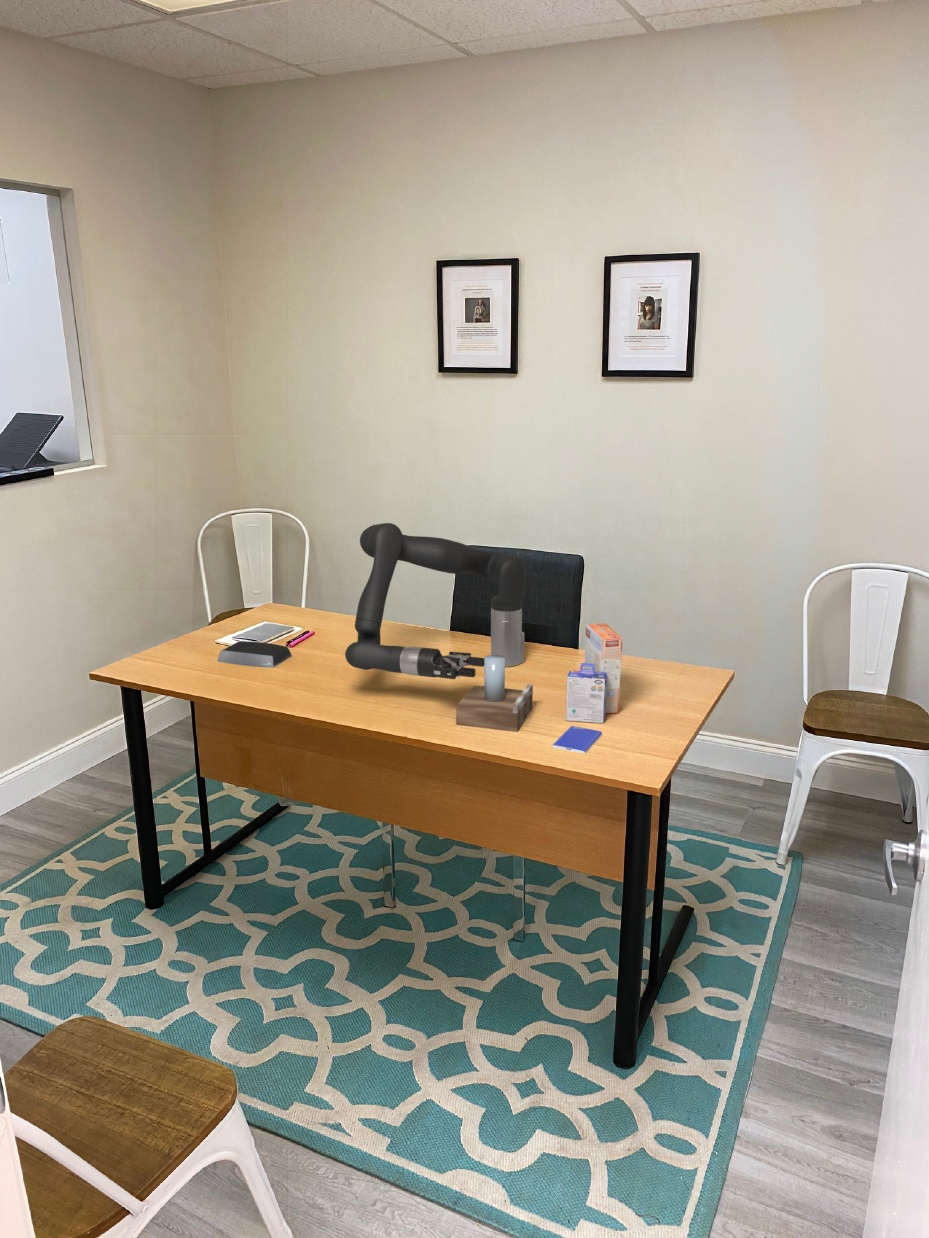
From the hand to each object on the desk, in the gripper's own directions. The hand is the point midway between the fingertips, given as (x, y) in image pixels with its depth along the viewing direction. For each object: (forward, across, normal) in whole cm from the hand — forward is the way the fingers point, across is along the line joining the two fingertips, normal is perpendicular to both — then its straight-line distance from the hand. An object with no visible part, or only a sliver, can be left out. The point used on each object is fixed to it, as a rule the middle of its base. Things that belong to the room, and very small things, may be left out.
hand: (480, 667), depth 240 cm
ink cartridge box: (+27, +6, +13) cm, 30 cm away
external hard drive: (-79, +24, +14) cm, 84 cm away
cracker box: (+29, +16, +13) cm, 36 cm away
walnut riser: (+4, 0, +13) cm, 14 cm away
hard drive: (+27, -9, +14) cm, 32 cm away
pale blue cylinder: (+4, 0, +8) cm, 9 cm away
